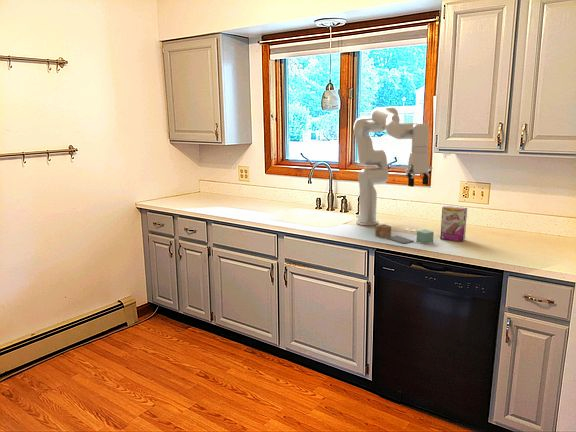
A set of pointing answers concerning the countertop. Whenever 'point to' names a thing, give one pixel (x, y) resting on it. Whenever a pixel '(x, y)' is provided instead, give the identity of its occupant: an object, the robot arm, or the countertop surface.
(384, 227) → the walnut block
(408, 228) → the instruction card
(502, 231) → the countertop surface
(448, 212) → the candy bar box
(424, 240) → the teal block
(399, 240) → the mat
